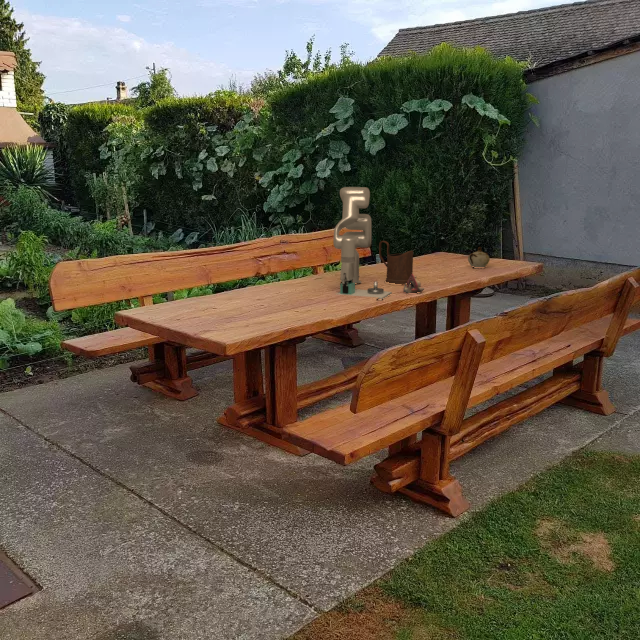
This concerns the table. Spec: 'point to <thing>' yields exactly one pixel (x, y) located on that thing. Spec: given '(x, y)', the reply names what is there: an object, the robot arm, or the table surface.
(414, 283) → the brake caliper
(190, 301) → the table surface
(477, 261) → the sugar bowl
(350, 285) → the collar
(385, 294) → the board
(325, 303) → the table surface
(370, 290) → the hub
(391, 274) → the brown pitcher
